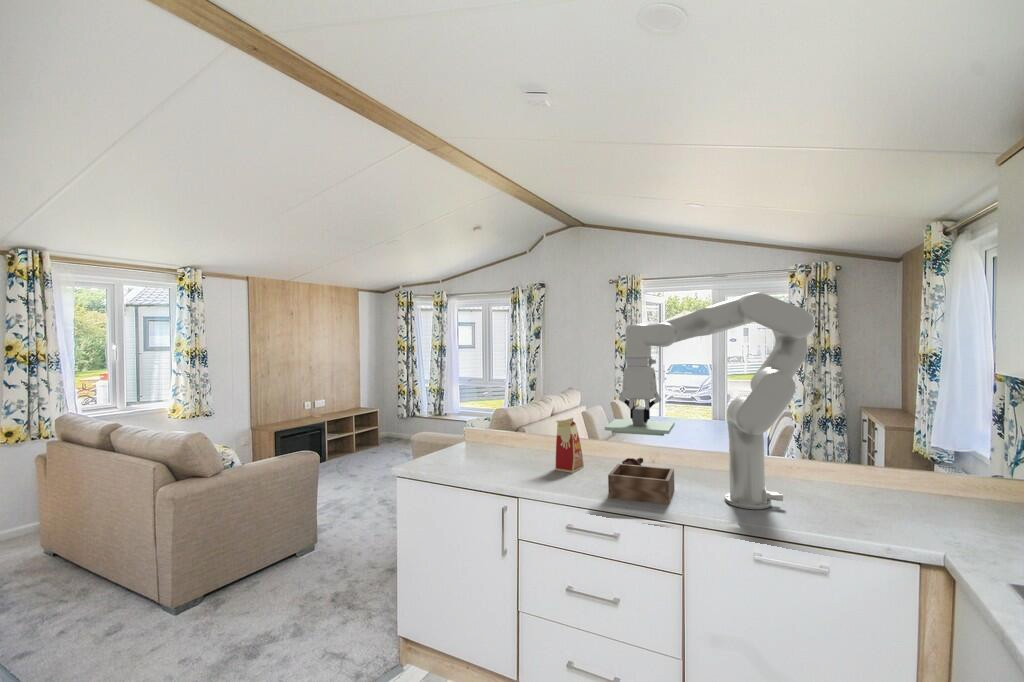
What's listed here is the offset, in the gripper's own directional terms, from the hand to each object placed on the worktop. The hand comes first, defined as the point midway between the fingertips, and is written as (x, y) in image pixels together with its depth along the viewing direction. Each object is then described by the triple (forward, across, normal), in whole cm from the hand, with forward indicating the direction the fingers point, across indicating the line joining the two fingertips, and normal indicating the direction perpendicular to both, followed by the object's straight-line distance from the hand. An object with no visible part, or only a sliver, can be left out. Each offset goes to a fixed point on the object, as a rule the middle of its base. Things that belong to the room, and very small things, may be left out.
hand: (640, 420), depth 151 cm
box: (+24, 0, 0) cm, 24 cm away
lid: (+3, 0, 0) cm, 3 cm away
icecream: (+24, +7, -21) cm, 33 cm away
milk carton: (+24, +32, -23) cm, 46 cm away
